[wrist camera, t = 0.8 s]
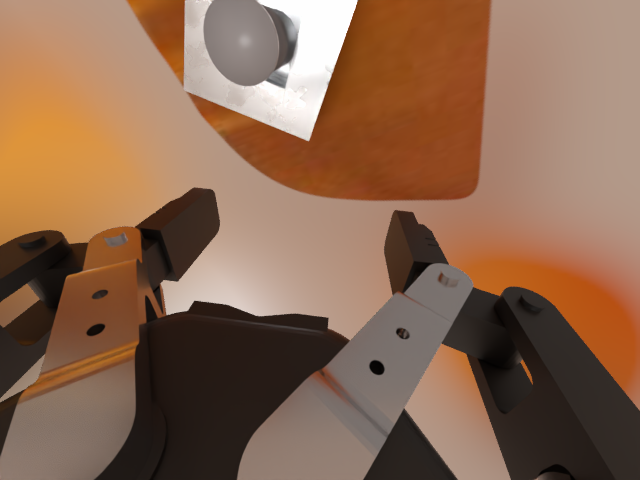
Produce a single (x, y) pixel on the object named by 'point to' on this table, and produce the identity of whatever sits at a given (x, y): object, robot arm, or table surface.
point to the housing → (286, 82)
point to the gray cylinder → (248, 40)
